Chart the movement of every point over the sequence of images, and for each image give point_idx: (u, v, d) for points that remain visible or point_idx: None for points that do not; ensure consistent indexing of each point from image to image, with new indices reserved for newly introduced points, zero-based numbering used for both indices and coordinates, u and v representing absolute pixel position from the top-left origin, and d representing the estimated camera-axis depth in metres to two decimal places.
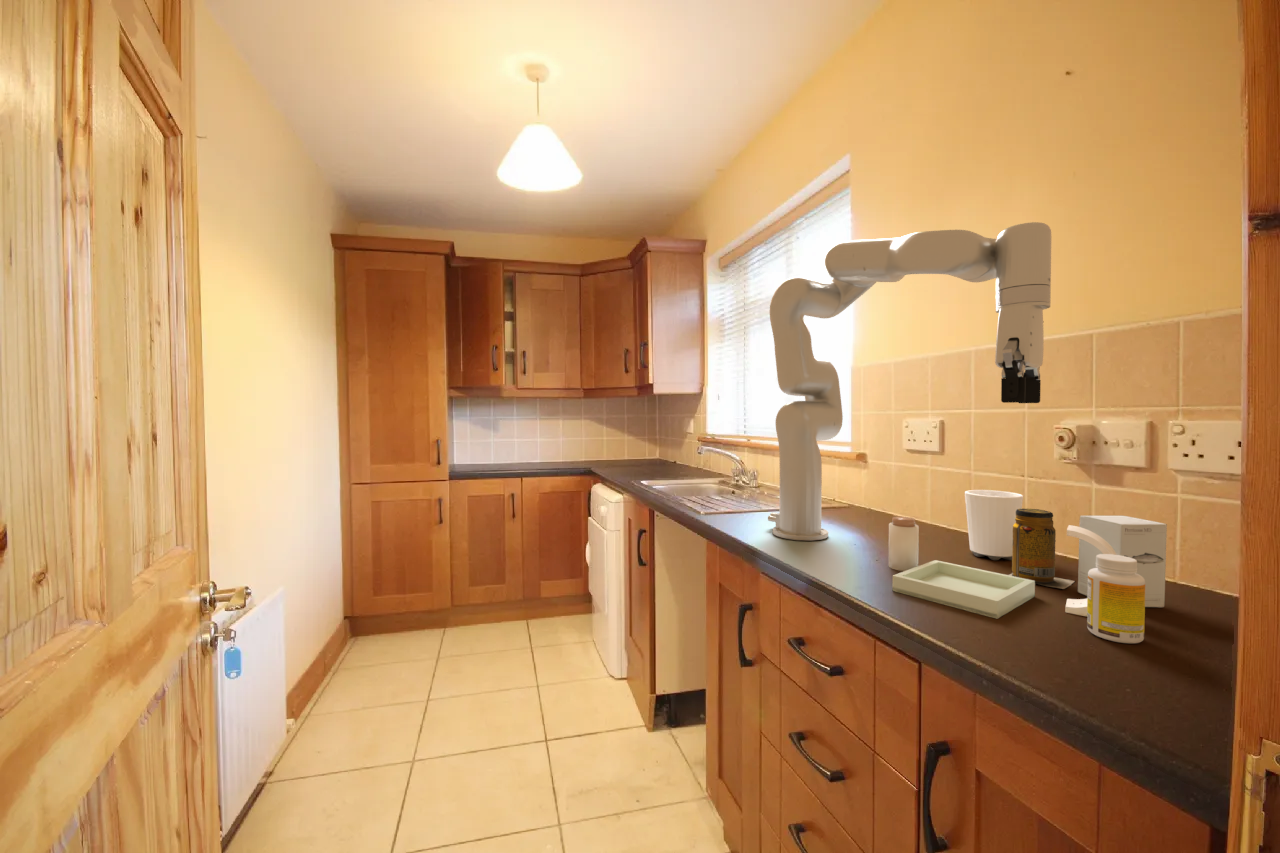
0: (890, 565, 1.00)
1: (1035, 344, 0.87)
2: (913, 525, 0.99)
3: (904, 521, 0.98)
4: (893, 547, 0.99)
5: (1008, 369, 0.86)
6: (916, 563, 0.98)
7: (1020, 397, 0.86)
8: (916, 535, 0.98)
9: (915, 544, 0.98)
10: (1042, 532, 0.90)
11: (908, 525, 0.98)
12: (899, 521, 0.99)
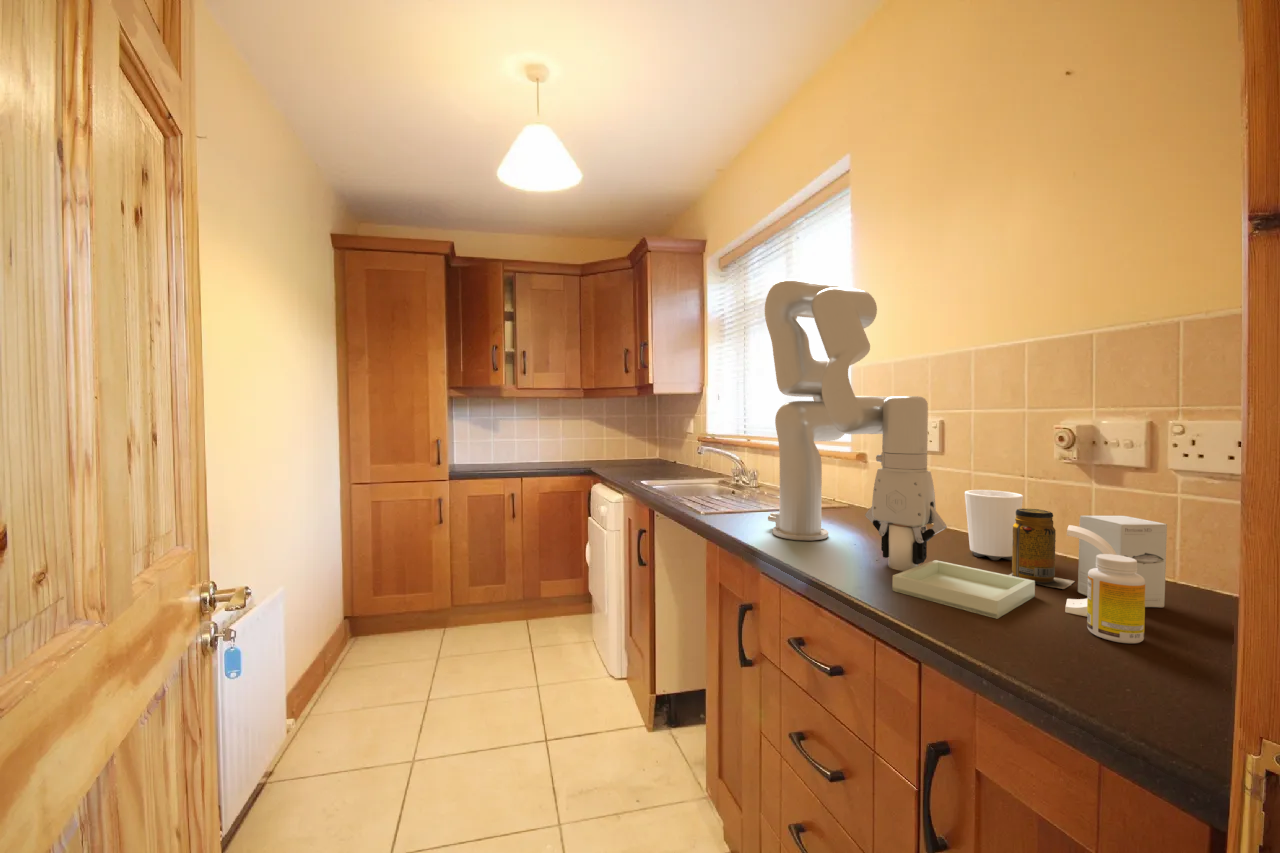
0: (890, 565, 1.00)
1: None
2: None
3: None
4: (893, 547, 0.99)
5: (929, 536, 0.96)
6: None
7: None
8: None
9: None
10: (1042, 532, 0.90)
11: None
12: None
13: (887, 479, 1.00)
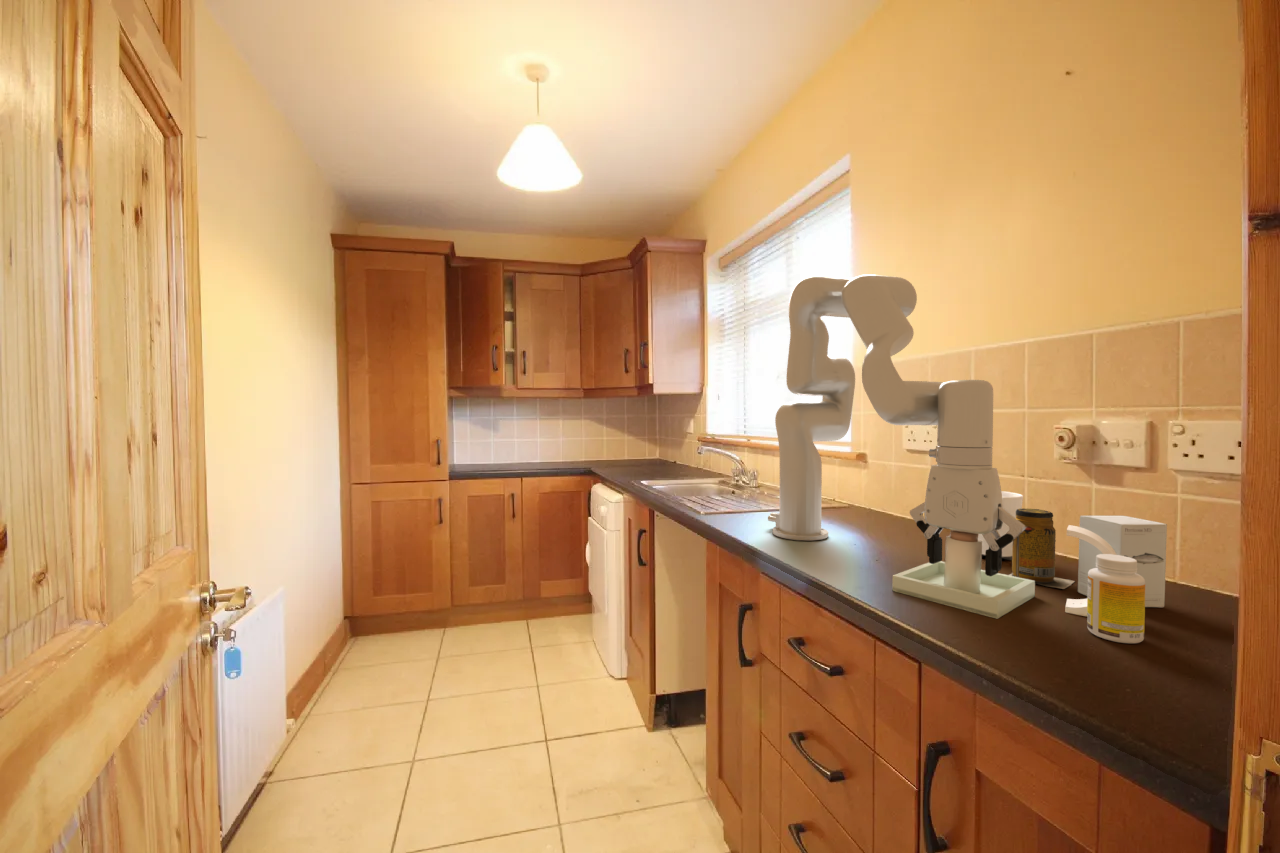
0: (946, 586, 0.86)
1: None
2: (976, 540, 0.84)
3: (966, 535, 0.84)
4: (952, 564, 0.85)
5: None
6: (979, 584, 0.84)
7: None
8: (980, 552, 0.84)
9: (978, 562, 0.84)
10: (1042, 532, 0.90)
11: (971, 540, 0.84)
12: (960, 535, 0.84)
13: (944, 477, 0.85)
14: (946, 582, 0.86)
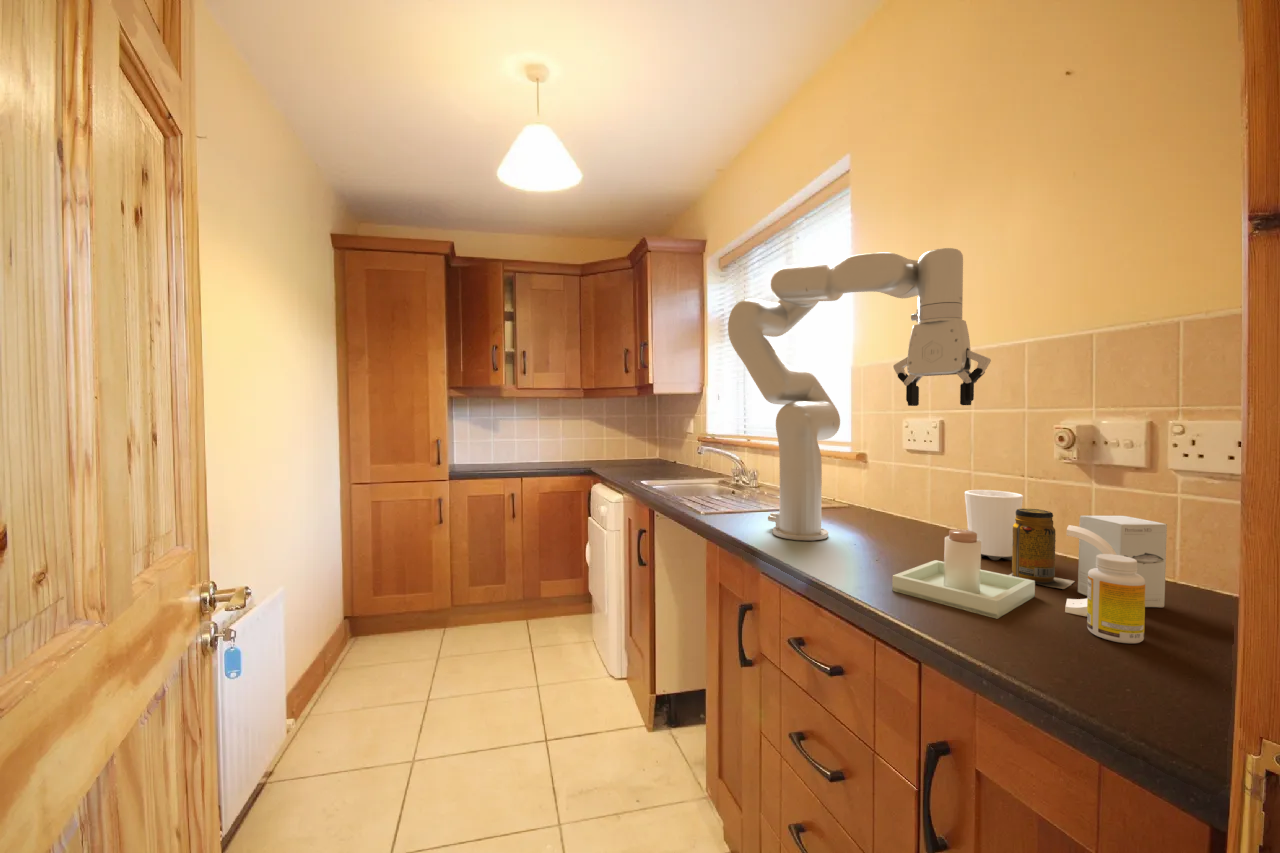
0: None
1: None
2: (976, 540, 0.84)
3: (967, 536, 0.84)
4: (953, 566, 0.84)
5: (977, 376, 0.98)
6: (979, 584, 0.84)
7: (970, 401, 1.00)
8: (980, 552, 0.84)
9: (979, 562, 0.84)
10: (1042, 532, 0.90)
11: (971, 541, 0.84)
12: (961, 536, 0.84)
13: (923, 332, 1.03)
14: (947, 584, 0.86)
